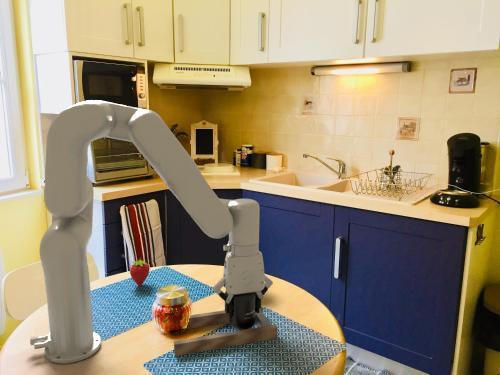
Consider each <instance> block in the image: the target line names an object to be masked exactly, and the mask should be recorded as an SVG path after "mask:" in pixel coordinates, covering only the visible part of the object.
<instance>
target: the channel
mask: <svg viewBox="0 0 500 375" xmlns="http://www.w3.org/2000/svg"><path fill="white" fill-rule="evenodd" d="M263 311H264V308H263V306H262V305H261V308H260V310H259V313H256V316H255V324H254V325H256V326H257V327H251V328H249V329H245V330H241V329H238V330H234V331H227V332H221V333H215V334H209V335H203V336H197V337H191V338H185V339H179V340H174V341H173V354H174V357H177V356H178V357H179V356H182V355H188V354H195V353H200V352H206V351H211V350H217V349H224V348H228V347H234V346H240V345H246V344H252V343H258V342H264V341H269V340H275V339H278V325H276V324H272V323H271V322H270V321H269V319H268V318H267V316H266V315H265V313H264V312H263ZM190 315H191V316H190V318H189V322H188V325H187V328H186V329H185V330H191V329H196V328H201V327H210V326H215V325H221V324H227V323H228V324H230V321H229V320H230V317H229V316H228V314H227V313H226V312H225V309H223V310H217V311H210V312H203V313H198V314H190Z"/></svg>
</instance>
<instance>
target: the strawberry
mask: <svg viewBox="0 0 500 375" xmlns="http://www.w3.org/2000/svg"><path fill="white" fill-rule="evenodd" d="M131 264H132V265H131V266H130V269H129V274H130V277H131V279H132V281H133V282H134V283H135V284H136V285H137V286H138V287H141V286H142V285H143V284H144V283H145V281H146V280H147V278H148V276H149V273H150V265H149V264H148V263H147V262H146V260H142V259H141V258H139V259H138V260H134V261H133V262H131Z"/></svg>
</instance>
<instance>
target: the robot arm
mask: <svg viewBox="0 0 500 375" xmlns="http://www.w3.org/2000/svg"><path fill="white" fill-rule="evenodd" d="M103 138H107V139H108V138H109V139H112V140H113V139H114V140H119V141H126V142H131V143H133V146H135V147H136V149H137V150H138V151H139V152H140V154H141V155H142V156H143V157H144V159H145V160H146V161H147V162H148V164H150V166H151V167H152V168H153V169H154V171H155V172H156V173H157V175H158V176H159V177H160V179H161V180H162V181H163V182H164V183H165V185H166V187H167V188H168V189H169V191H170V192H171V193H172V194H173V196H175V197H176V199H177V200H178V201H179V202H180V204H181V205H182V207H183V208H184V209H185V211H186V212H187V213H188V215H189V216H190V217H191V218H192V220H193V221H194V222H195V223H196V225H197V226H198V227H199V228H200V230H201V231H202V232H203V233H204V234H205V235H207V236H208V237H209V238H212V239H222V238H224V237H226V236H228V242H227V244H223V251H227V252H226V255H225V258H224V265H223V275H222V278H221V279H220V280H218V282H217V283H216V284H215V285H213V286H212V290H213V291H214V293H216V295H218V297H220V298H221V299H222V300H223V301H224V310H225V312H226V313H227V314H228V316H229V317H232V302H231V299H232V297H233V295H236V294H244V293H252V292H255V293H256V313H259V310H260V308H261V306H262V299H263V297H264V295H265V294H266V293H267V292H268V290H269V289H270V288H271V286H272V285H273V284H274V282H273V280H272V279H271V278H270V277H268V276H267V275H265V266H264V256H263V253H262V252H261V251H260V250H259V249H260V248H259V247H260V246H259V244H260V204H259V202H258V201H256V200H255V199H251V198H237V199H227V198H226V199H225V198H219V197H218V195H217V194H216V192H214V190H213V188H212V187H211V186H210V185H209V183H208V181H207V180H206V178H204V176H203V173H202V172H201V170H200V168H199V166H198V165H197V164H196V162H195V161H194V159H193V157H191V155H190V154H189V153H188V151H187V150H186V149H185V147H184V146H183V145H182V143H181V142H180V141H179V140H178V138H177V137H176V136H175V134H174V133H173V132H172V131H171V129H170V128H169V126H168V125H167V124H166V122H165V121H164V120H163V118H162V117H161V116H160V115H159V114H158V113H157V112H155V111H153V110H150V109H145V108H139V107H133V106H129V105H128V106H127V105H124V104H118V103H114V102H110V101H105V100H97V99H95V100H93V99H90V100H85V101H81V102H78V103H76V104H73V105H71V106H69V107H66V108H65V109H63V110H62V111H61V112H59V113H58V114H57V115H56V116H55V117H54V119H53V120H52V121H51V123H50V126H49V127H48V131H47V135H46V141H45V142H46V146H45V166H44V168H45V170H44V171H45V172H44V192H43V193H44V194H43V199H44V200H43V201H44V205H45V208H46V209H47V211H48V212H49V213H50V214H51V225H49V226H48V229H47V230H46V231H45V232H44V233H43V236H42V238H41V240H40V244H39V257H40V262H41V267H42V270H43V275H44V276H43V277H44V286H45V294H46V304H47V315H48V323H49V326H48V328H49V332H48V333H45V335H35V336H31V337H29V338H30V339H29V344H30V346H34V347H33V348H34V350H40V349H43V348H44V357H45V358H46V359H47V361H49V362H52V363H56V364H71V363H76V362H77V363H78V362H80V361H83V360H86V359H88V358H90V357H91V356H92V355H94V354H95V353H97V351H98V350H99V349H100V347H101V344H102V342H101V340H102V339H101V335H99V334H98V333H96V332H95V331H94V324H93V322H94V320H93V309H92V296H91V295H92V292H91V283H90V282H91V280H90V271H89V270H90V269H89V265H88V264H89V263H88V256H87V254H88V253H87V251H88V246H89V242H90V240H91V238H92V233H93V222H94V221H93V220H94V219H93V216H94V185H93V182H92V181H91V179H90V177H89V176H88V173H87V172H88V161H89V160H88V156H89V155H88V149H89V146H90V144H91V143H92V142H93V141H96V140H99V139H103ZM223 287H224V288H225V291H223V290H221V289H222V288H223Z"/></svg>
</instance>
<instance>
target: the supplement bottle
mask: <svg viewBox="0 0 500 375" xmlns="http://www.w3.org/2000/svg"><path fill="white" fill-rule="evenodd" d="M231 302H232V317H230V320H229V321H230V322H229V324H230V326H231V327H233V329H237V330H245V329H251V328H254V326H255V325H256V324H255V316H256V293H255V292H252V293H244V294H236V295H233V297H232V299H231Z"/></svg>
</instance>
